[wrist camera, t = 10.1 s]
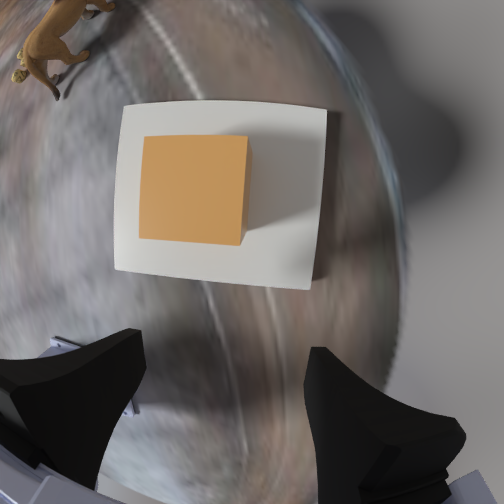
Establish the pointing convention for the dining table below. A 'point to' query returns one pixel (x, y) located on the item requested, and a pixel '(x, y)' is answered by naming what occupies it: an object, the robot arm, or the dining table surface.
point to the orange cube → (195, 188)
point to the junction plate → (260, 199)
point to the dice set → (19, 74)
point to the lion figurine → (57, 38)
